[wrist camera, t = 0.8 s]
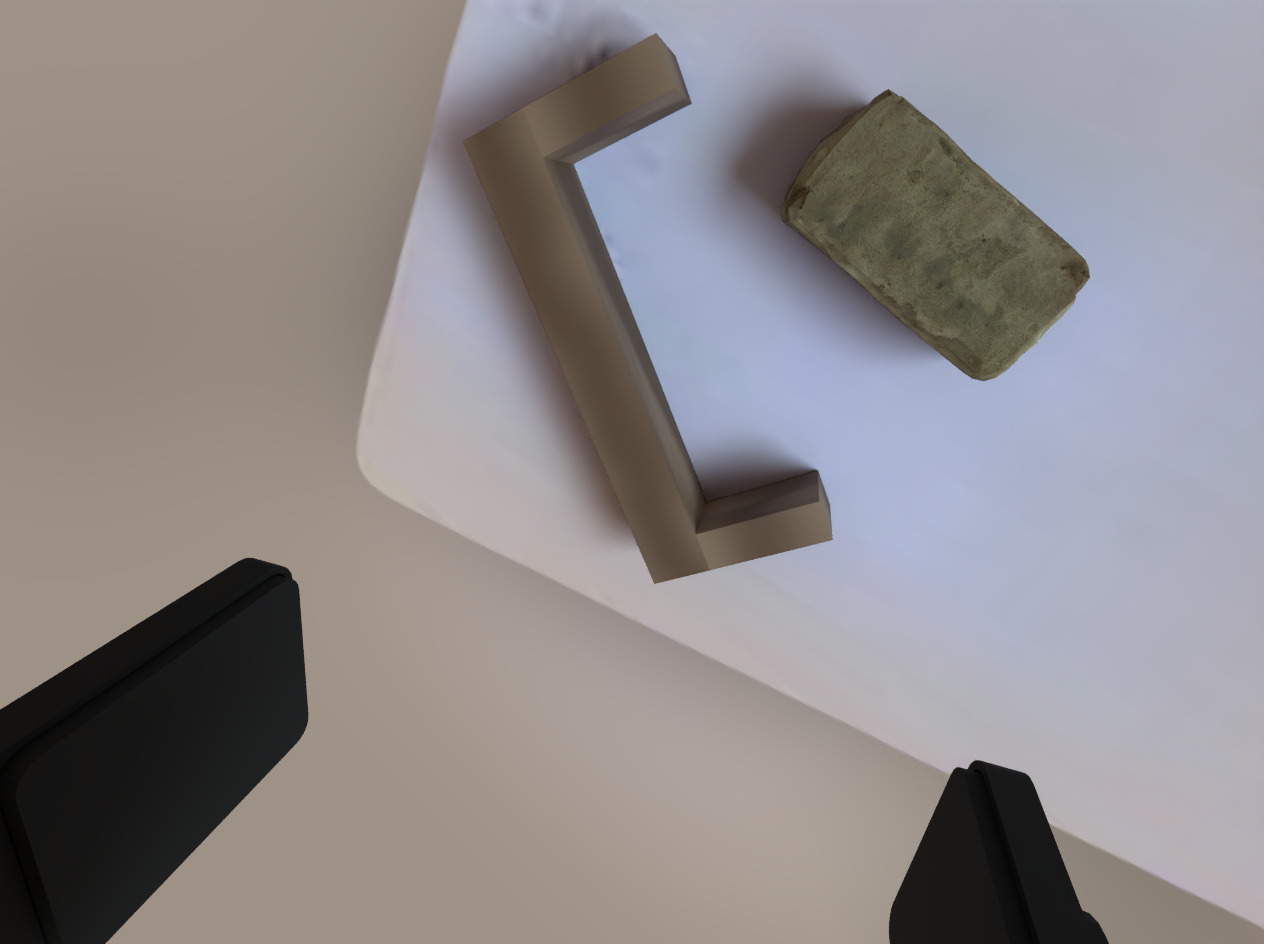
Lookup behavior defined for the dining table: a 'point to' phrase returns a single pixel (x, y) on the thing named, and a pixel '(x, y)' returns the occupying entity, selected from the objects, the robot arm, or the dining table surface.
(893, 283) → the stone block
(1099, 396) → the dining table surface
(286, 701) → the robot arm
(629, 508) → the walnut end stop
